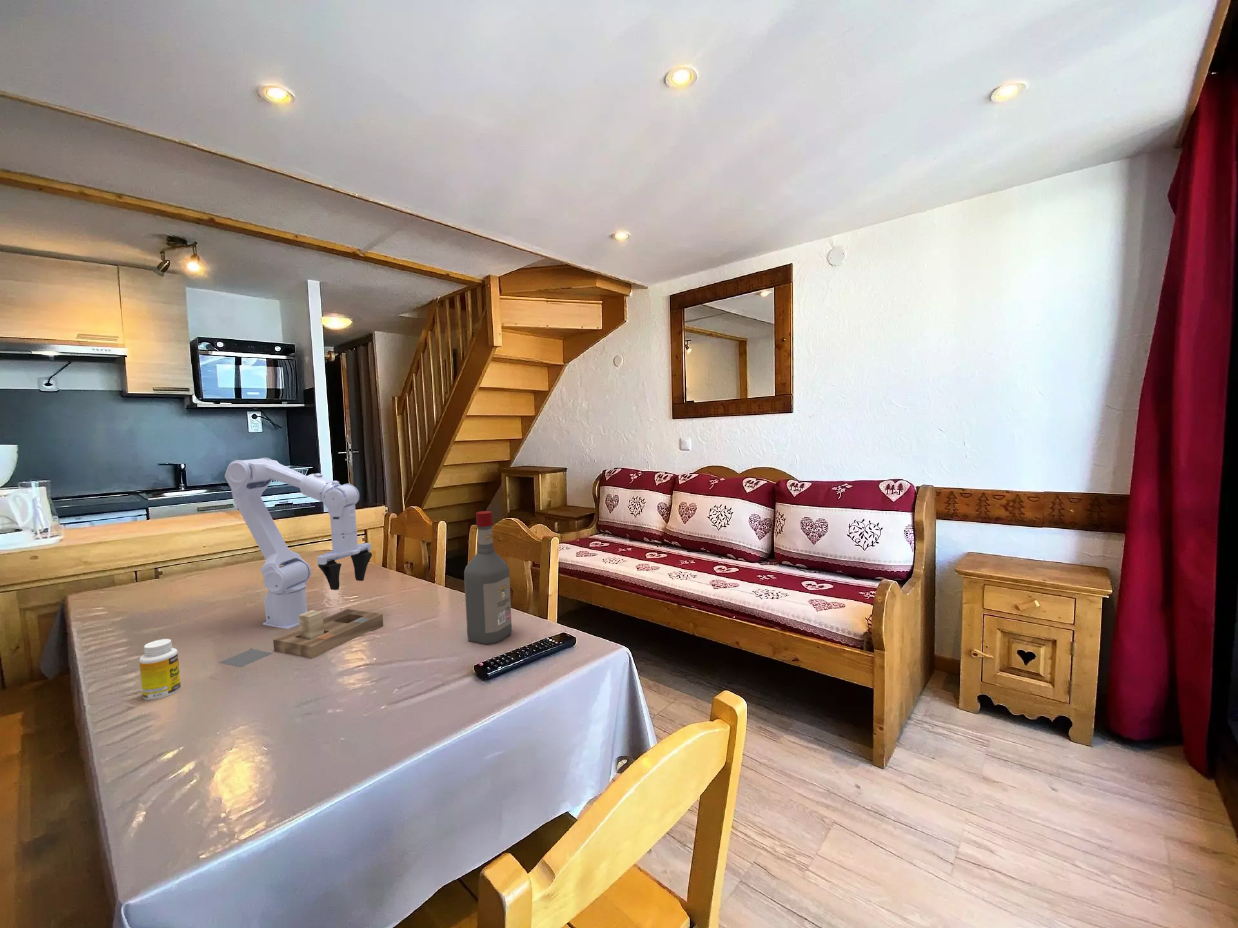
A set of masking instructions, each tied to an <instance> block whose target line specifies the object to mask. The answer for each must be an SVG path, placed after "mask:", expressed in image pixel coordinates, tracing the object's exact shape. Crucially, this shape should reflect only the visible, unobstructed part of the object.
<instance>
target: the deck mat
mask: <svg viewBox="0 0 1238 928" xmlns="http://www.w3.org/2000/svg"><path fill="white" fill-rule="evenodd" d="M272 654H273V652H269V651H264V650H260V649H254V648H250V649H248V650H246V651H243V652H241V653H238V654H236V655H233V656H231V657H229V658H225V659H224V660H222V661H219V662H218V663H219V664H224V665H228V666H233V667H238V668H242V667H245V666H247V665H249V664H251V663H254V662H257V661H258V660H261V659H263V658H265V657H268V656H270V655H272Z"/></svg>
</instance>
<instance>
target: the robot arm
mask: <svg viewBox="0 0 1238 928" xmlns="http://www.w3.org/2000/svg"><path fill="white" fill-rule="evenodd" d="M224 479H225V481H226V482H227V484H228V486H229V487H230V489H231V490H230V491H231V495H232V496H231V497H232V500H233V502H234V504H235V506H236V507H237V509H238V511H239V513H240V515H241V517H242V519H243V520H244V522H245V524H246V526H247V528H248V529H249V531H250V534H251V536H252V537H253V539H254V541H255V543H256V544H257V546H258V549H259V550H260V552H261V553H262V554H261V555H262V556H263V557H264V559H265V561H264V563H263V565H262V566H261V568H260V572H261V574H262V575H263V584H264V586H265V588H266V589H267V590H268V592H266V593H267V594H266V595H265V597H264V601H263V602H264V614H265V622H262V625H263V626H266V627H267V626H268V627H273V628H274V627H275V628H279V629H286V630H289V629H292V628H294V627H297V626H299V615H301V614H303V613H306V612H308V607H307V606H308V605H307V592H306V591H307V590H306V586H307V585H308V584H307V583H308V580H309V579H310V578H311V576H312V568H311V566H310V564H309V563H308V562H307V561H305V560H304V559H303V557H302V556H301V555H300V554H299V553H298V552H296V551H292V550H290V549H289V547H288V545H287V543H286V542H285V539H284V538H283V535H282V534H281V532H280V530H279V528H278V527H277V525H276V523H275V520H274V519H273V517H272V515H271V513H270V511H269V510H268V507H267V506H266V504H265V503H264V500H263V499H262V495H263V492H265V490H266V489H267V488H268V486H270V484H271V483H272V482H273V480H274V481H277V482H281V483H283V484H286V485H289V486H292V487H295V488H299V490H300V492H301V494H302V495H303V496H306V497H308V498H311V499H314V500H316V501H319V502H321V503H324V505H325V507H326V508H327V511H328V515H329V517H330V519H329V520H330V530H331V531H330V532H331V533H330V536H331V549H332V550H331V551H328V552H326V553H324V554H321V555H318V556H316V558H317V562H316V563H317V565H318V566H317V567H318V568H319V569H320V570H321V572H322V574H323V575H324V576H325V578H326V580H327V581H326V582H327V583H328V585H329V589H330V590H331V591H339V590H340V572H341V567H342V563H337V560H341V559H345V558H347V557H350V559H351V560H352V563H353V568H354V569H353V570H354V578H355V581H359V582H364V581H365V576H366V572H367V568H368V565H369V562H370V560H371V559H372V557H373V553H372V552H371V551H372V543H370V542H365V543H360V544H358V543H359V542H358V531H357V513H356V504H357V503H358V502H359V500H360V492H359V490H358V488H357V487H356V486H354V485H353V484H352V483H344V484H340V481H338V480H331V479H328V478H327V477H326V478H325V477H323V474H322V473H319V472H318V473H311V474H308V475H305V474H303V473H300V472H299V471H296V470H295V469H292V468H290V467H288V466H286V465H284V464H282V463H279V462H278V460H274V459H271V458H269V457H260V458H254V459H243V460H240V459H235V460H232V461H231V462H230V463H228V465H227V468H226V471H225V474H224Z"/></svg>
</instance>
